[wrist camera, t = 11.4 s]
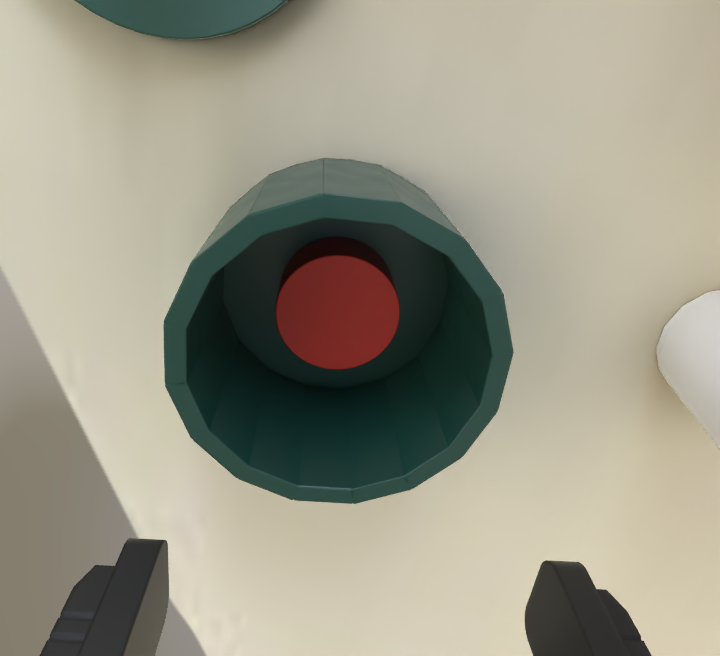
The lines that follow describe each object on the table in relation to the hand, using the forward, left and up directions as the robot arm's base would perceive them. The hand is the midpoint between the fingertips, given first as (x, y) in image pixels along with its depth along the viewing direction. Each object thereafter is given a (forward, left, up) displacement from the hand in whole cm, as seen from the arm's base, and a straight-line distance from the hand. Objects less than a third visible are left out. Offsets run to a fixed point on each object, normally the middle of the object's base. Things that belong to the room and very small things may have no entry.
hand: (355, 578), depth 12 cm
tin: (0, 0, -18) cm, 18 cm away
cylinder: (0, 0, -17) cm, 17 cm away
